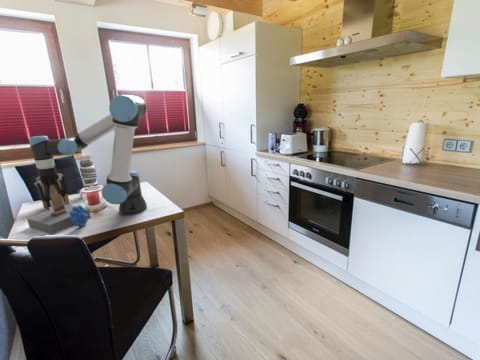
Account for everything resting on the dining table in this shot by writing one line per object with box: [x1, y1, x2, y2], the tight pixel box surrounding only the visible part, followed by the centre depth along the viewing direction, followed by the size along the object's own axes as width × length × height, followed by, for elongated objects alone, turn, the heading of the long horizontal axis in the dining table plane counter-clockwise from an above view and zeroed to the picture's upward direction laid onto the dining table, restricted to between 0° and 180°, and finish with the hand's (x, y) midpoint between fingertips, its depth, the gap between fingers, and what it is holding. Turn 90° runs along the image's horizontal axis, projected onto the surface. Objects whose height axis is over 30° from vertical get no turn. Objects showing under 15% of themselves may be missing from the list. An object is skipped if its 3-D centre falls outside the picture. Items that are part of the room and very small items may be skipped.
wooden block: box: [35, 172, 70, 209], centre depth 157 cm, size 10×10×20 cm
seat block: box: [26, 204, 92, 235], centre depth 135 cm, size 20×20×5 cm
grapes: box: [70, 204, 88, 228], centre depth 128 cm, size 12×7×12 cm, turn 178°
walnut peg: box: [50, 194, 66, 217], centre depth 133 cm, size 5×5×14 cm
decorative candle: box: [78, 158, 99, 189], centre depth 175 cm, size 9×9×25 cm
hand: (57, 209), depth 134 cm, fingers closed on walnut peg, 5 cm apart
